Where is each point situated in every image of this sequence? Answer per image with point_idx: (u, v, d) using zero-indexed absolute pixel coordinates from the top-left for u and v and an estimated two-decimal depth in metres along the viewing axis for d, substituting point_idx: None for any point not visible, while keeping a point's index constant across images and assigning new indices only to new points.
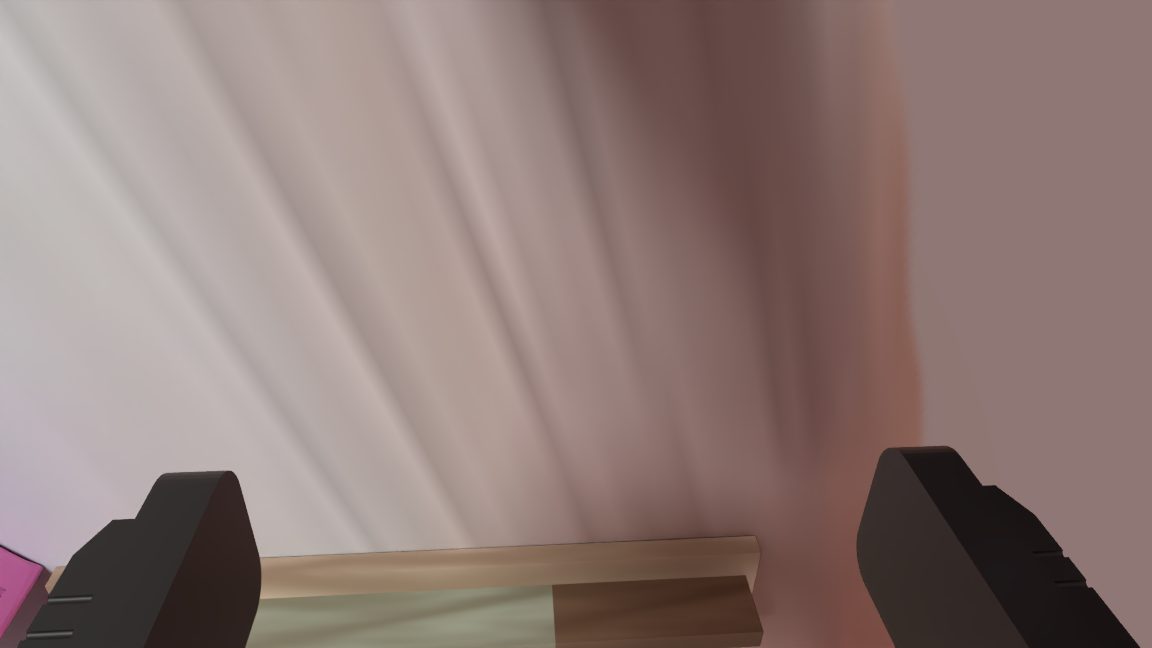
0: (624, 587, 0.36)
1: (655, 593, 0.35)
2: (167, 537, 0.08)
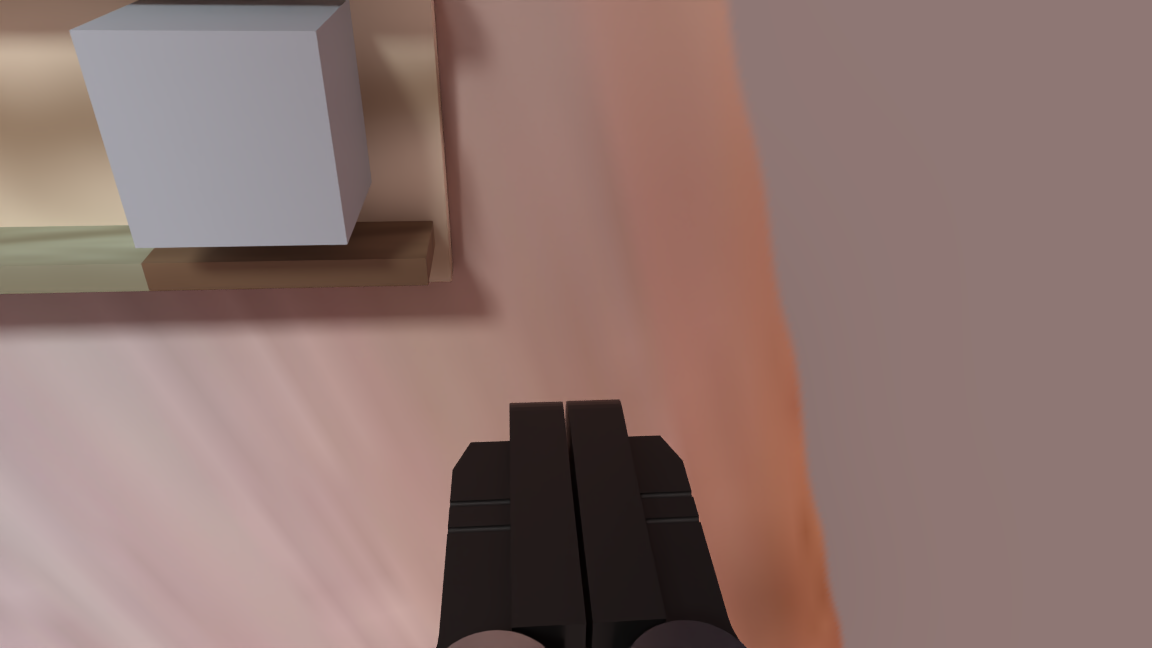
0: None
1: None
2: (546, 451, 0.09)
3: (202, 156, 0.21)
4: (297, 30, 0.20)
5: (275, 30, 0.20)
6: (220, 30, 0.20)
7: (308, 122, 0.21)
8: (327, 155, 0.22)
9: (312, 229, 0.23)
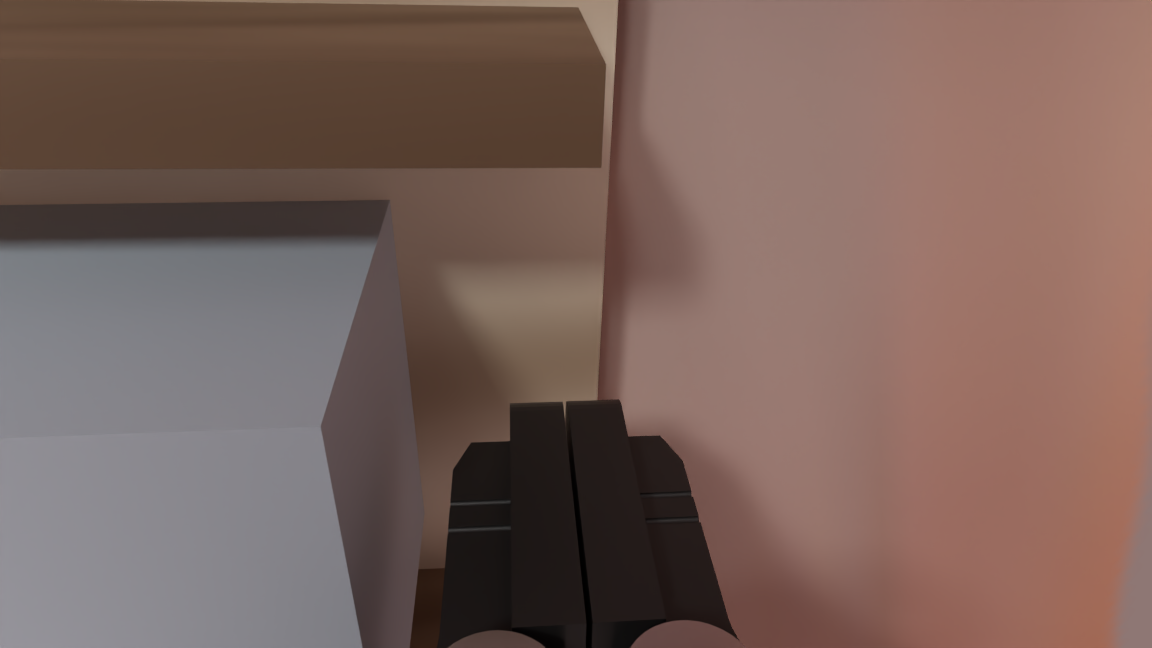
0: (84, 3, 0.09)
1: (197, 13, 0.09)
2: (546, 451, 0.09)
3: None
4: (265, 423, 0.07)
5: (199, 424, 0.07)
6: (31, 431, 0.07)
7: (298, 612, 0.08)
8: None
9: None
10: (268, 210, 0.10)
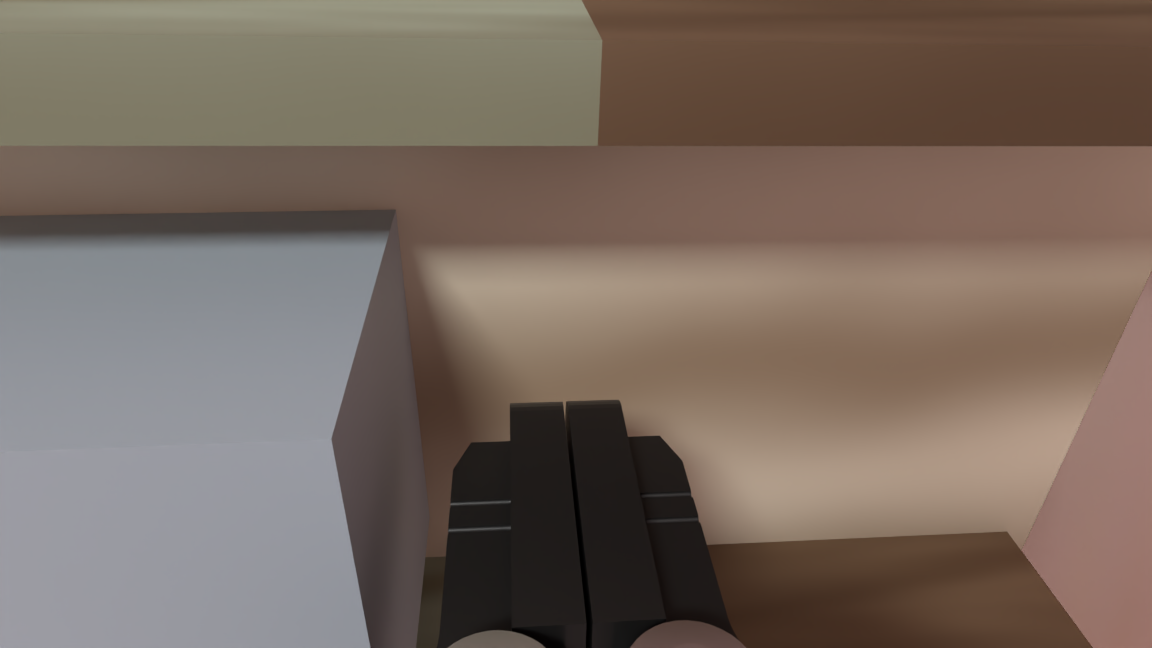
0: None
1: (962, 5, 0.09)
2: (546, 451, 0.09)
3: None
4: (277, 435, 0.07)
5: (213, 436, 0.07)
6: (49, 444, 0.07)
7: (308, 619, 0.08)
8: None
9: None
10: (276, 221, 0.11)
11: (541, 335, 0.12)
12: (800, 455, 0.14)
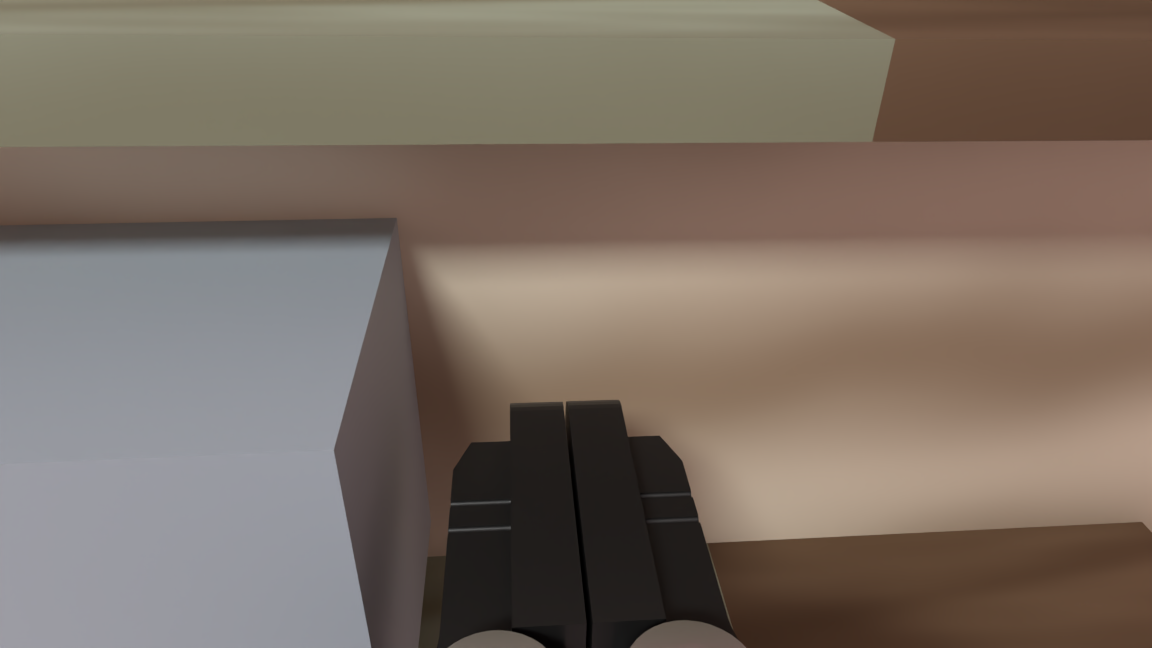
0: None
1: None
2: (546, 451, 0.09)
3: None
4: (280, 447, 0.07)
5: (217, 448, 0.07)
6: (55, 456, 0.07)
7: (312, 627, 0.08)
8: None
9: None
10: (278, 229, 0.11)
11: (717, 329, 0.13)
12: (951, 446, 0.14)
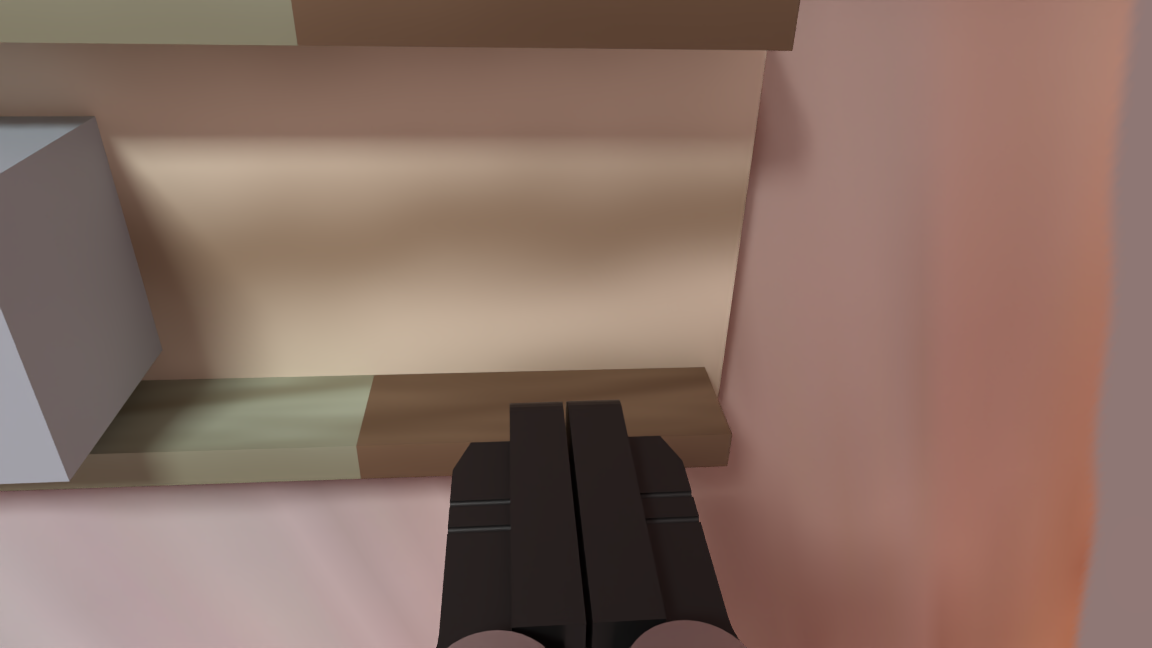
0: None
1: None
2: (546, 451, 0.09)
3: None
4: None
5: None
6: None
7: None
8: (14, 368, 0.14)
9: (12, 463, 0.15)
10: (11, 121, 0.17)
11: (335, 202, 0.18)
12: (535, 299, 0.20)
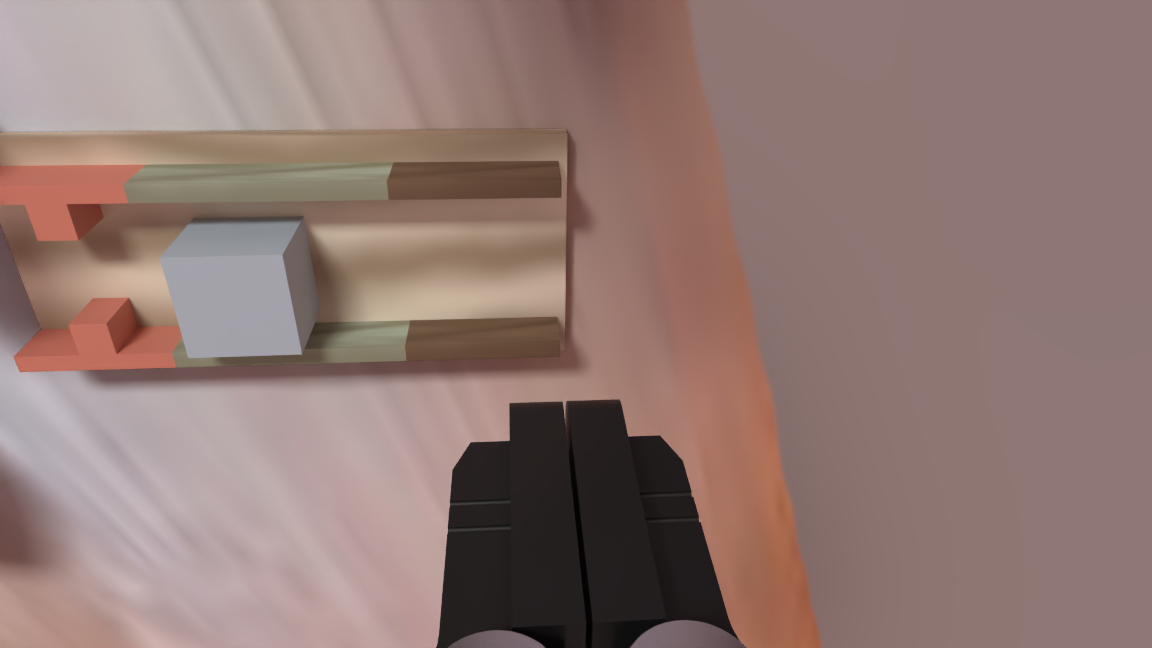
0: (453, 163, 0.43)
1: (478, 166, 0.42)
2: (546, 451, 0.09)
3: (224, 312, 0.41)
4: (273, 254, 0.40)
5: (262, 254, 0.40)
6: (234, 255, 0.40)
7: (279, 295, 0.41)
8: (290, 311, 0.41)
9: (282, 347, 0.42)
10: (273, 219, 0.44)
11: (395, 247, 0.45)
12: (479, 286, 0.47)
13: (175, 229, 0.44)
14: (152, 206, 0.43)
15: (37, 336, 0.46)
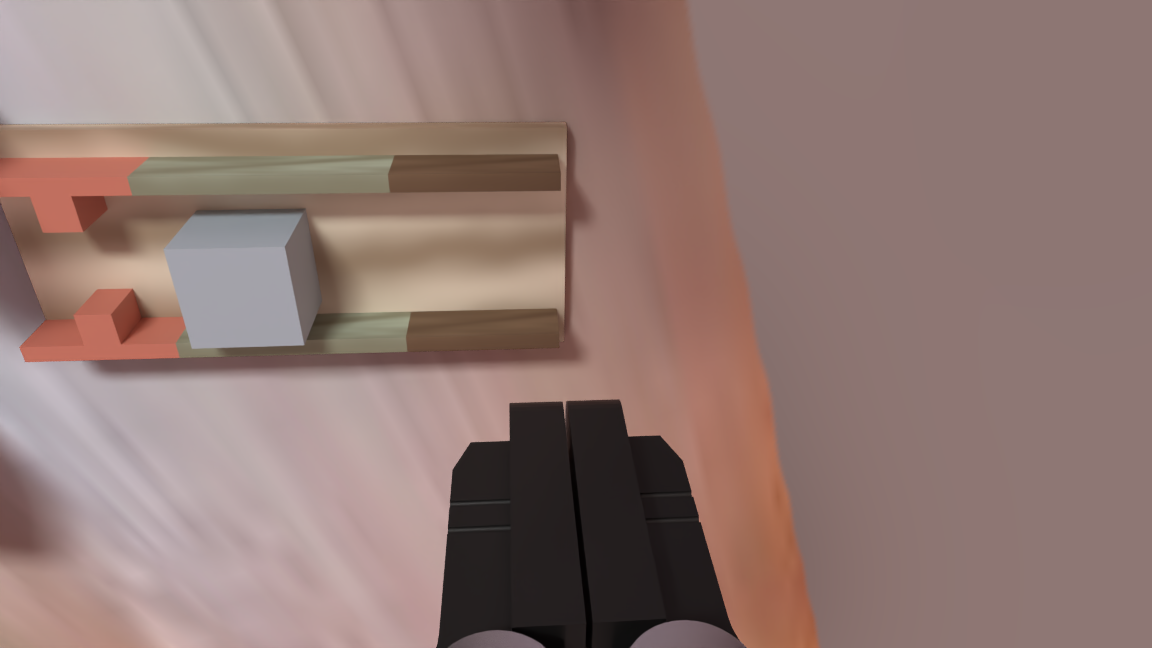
0: (454, 156, 0.43)
1: (479, 159, 0.43)
2: (546, 451, 0.09)
3: (228, 304, 0.42)
4: (275, 246, 0.40)
5: (264, 246, 0.40)
6: (237, 247, 0.40)
7: (282, 287, 0.41)
8: (292, 302, 0.42)
9: (285, 338, 0.43)
10: (276, 211, 0.44)
11: (396, 239, 0.46)
12: (479, 278, 0.48)
13: (178, 221, 0.44)
14: (155, 198, 0.43)
15: (42, 326, 0.46)
